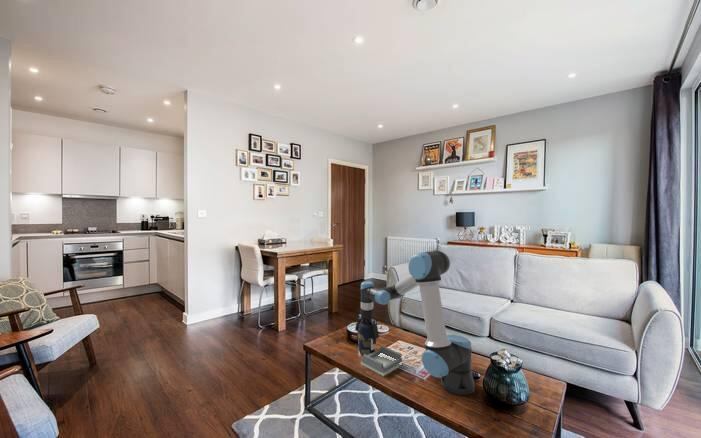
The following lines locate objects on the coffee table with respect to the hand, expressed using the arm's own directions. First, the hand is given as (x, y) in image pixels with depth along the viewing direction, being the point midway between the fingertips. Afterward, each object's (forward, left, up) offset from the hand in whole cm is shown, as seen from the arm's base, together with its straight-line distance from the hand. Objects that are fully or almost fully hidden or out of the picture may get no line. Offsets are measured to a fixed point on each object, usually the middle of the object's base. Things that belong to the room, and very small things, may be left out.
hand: (366, 346), depth 171 cm
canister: (0, 0, -4) cm, 4 cm away
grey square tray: (-15, +4, -4) cm, 16 cm away
